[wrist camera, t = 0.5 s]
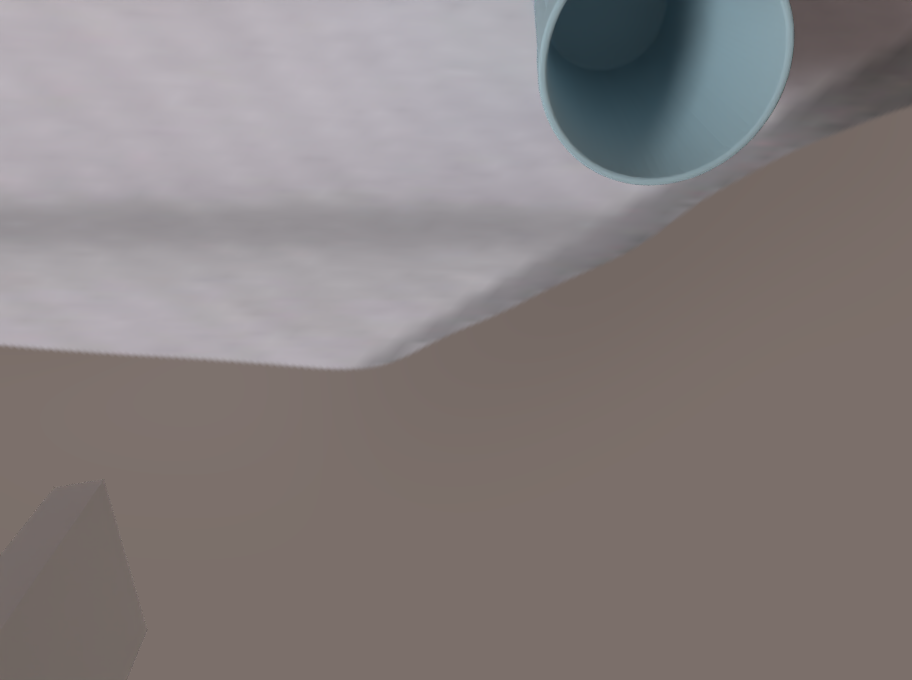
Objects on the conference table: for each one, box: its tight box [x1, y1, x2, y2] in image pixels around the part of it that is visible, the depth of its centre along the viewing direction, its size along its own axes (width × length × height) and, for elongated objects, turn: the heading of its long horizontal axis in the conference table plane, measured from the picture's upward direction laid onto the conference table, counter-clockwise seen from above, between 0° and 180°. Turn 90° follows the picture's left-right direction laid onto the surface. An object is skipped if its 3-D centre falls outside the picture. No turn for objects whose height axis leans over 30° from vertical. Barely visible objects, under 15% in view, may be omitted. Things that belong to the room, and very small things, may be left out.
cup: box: [534, 0, 794, 185], centre depth 30 cm, size 8×8×10 cm
